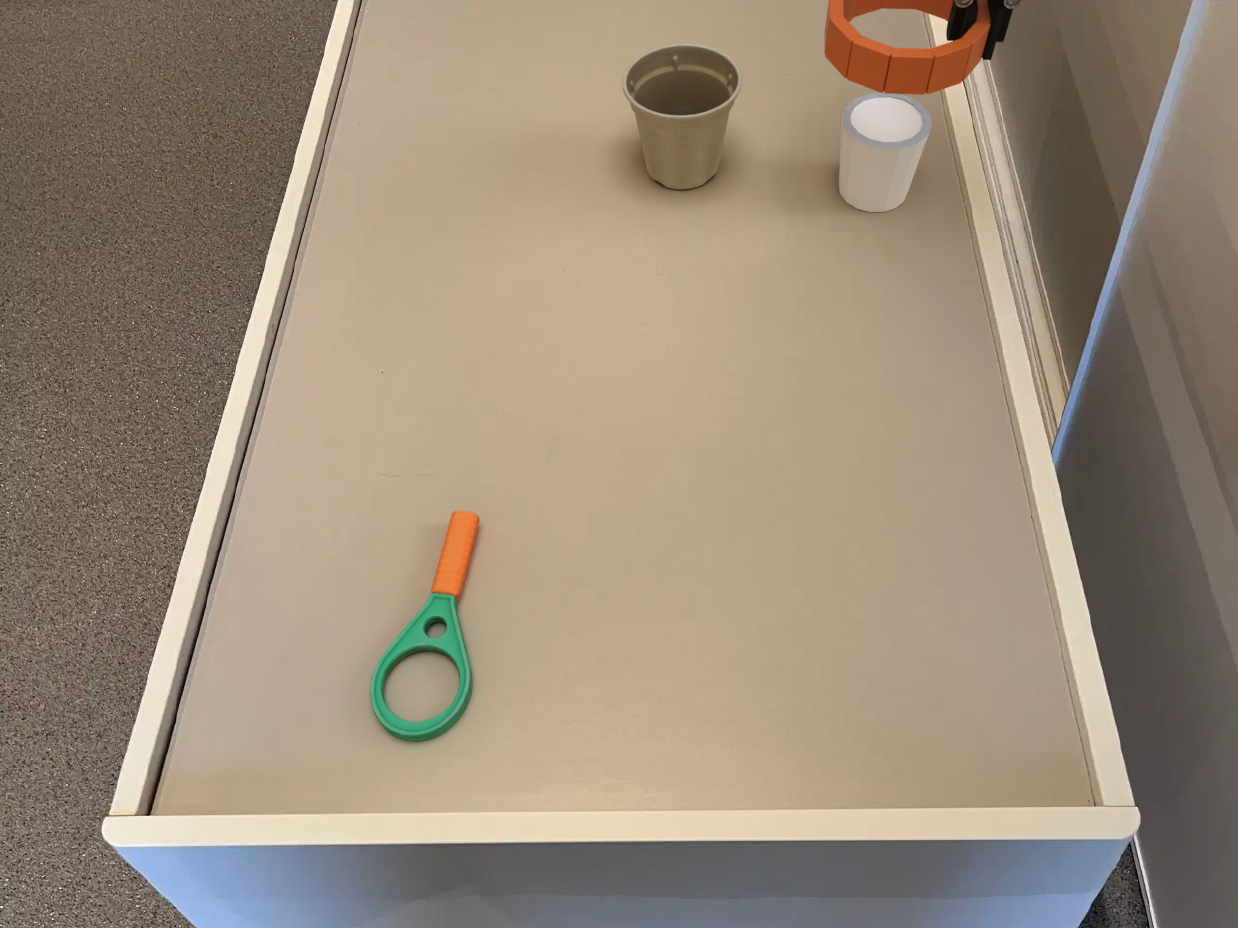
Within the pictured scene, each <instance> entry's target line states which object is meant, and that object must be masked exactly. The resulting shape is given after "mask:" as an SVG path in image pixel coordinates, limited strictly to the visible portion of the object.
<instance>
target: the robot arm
mask: <svg viewBox="0 0 1238 928" xmlns="http://www.w3.org/2000/svg"><path fill="white" fill-rule="evenodd" d="M987 1H988V8H989V15H990V21H991V22H990V28H989V32H988V35H987V39H986V43H985V46H984V50H983V53H982V57H981V59H982V60H983V61H991V60H992V58H993V56H994V51H995V48H996V44H997V43H1003V42H1004V41H1005V39H1006V35H1007V31H1008V28H1009V25H1010V22H1011V18H1012V15H1013V11H1014V9H1016V8H1018V7H1020V6H1021V4H1022V2H1023V0H987ZM977 16H978V2H977V0H953V3H952V7H951V11H950V15H949V20H948V22H947V24H946V33H945V36H946V41H948V42H952V41H955V40H958V39H961V38H962V37H963V36H964V35H965V33H966V32H967V31H968V30H969V29H970V28H971V27H972V25H973V24H974V23H976V19H977Z"/></svg>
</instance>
